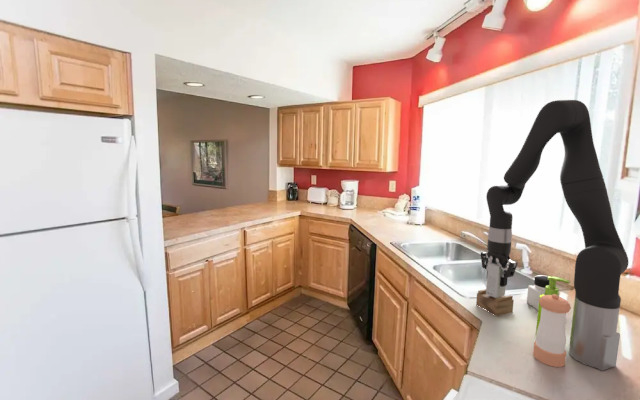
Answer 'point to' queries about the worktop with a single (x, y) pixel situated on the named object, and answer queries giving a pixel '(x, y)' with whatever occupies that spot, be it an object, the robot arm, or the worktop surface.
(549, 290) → the soap dispenser
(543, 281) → the medicine bottle
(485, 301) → the display pedestal
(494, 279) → the skincare box
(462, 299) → the worktop surface
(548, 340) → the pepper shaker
